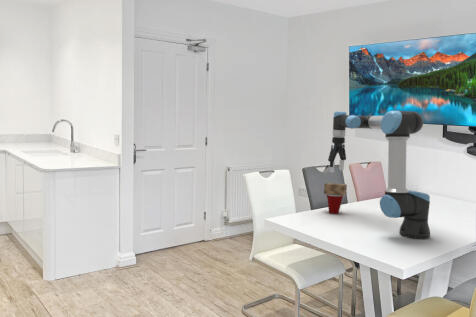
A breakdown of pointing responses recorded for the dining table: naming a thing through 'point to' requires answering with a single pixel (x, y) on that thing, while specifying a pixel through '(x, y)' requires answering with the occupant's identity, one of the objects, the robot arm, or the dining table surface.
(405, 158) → the robot arm
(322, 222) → the dining table surface
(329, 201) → the plastic cup
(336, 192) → the brown wooden block
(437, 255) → the dining table surface
